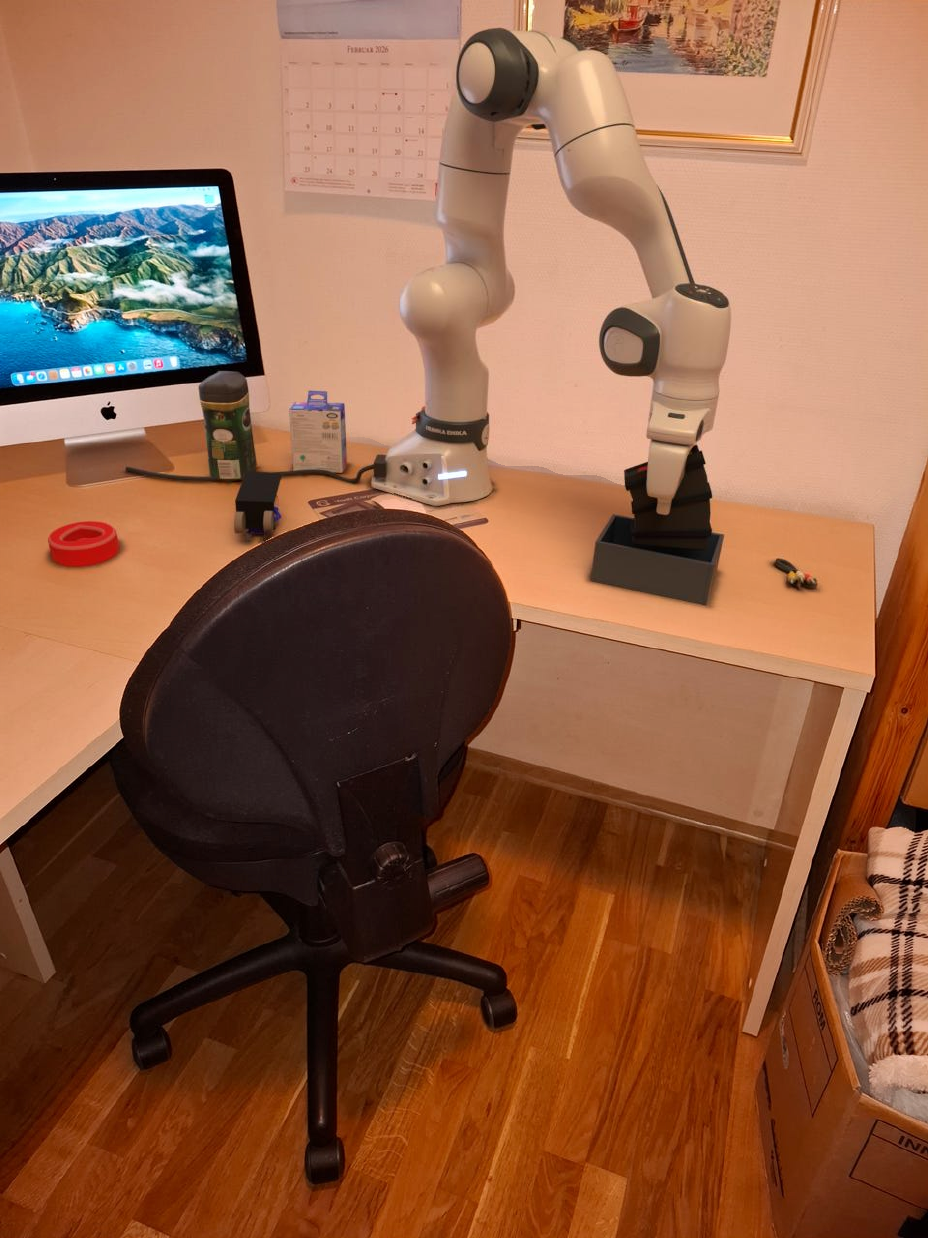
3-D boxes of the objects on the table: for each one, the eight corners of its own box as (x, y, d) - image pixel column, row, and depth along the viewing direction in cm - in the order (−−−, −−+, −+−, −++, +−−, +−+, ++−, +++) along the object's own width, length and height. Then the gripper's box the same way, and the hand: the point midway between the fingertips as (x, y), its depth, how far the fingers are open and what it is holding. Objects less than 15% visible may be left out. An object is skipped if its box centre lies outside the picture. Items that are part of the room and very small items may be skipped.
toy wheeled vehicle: (278, 554, 135) (286, 506, 146) (273, 513, 130) (282, 467, 142) (235, 554, 134) (246, 506, 146) (229, 513, 129) (241, 467, 141)
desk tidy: (590, 580, 127) (595, 541, 124) (607, 550, 136) (612, 513, 133) (706, 605, 122) (714, 565, 119) (716, 572, 131) (724, 534, 128)
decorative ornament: (98, 533, 136) (94, 515, 134) (131, 551, 131) (128, 533, 129) (39, 552, 129) (35, 533, 128) (72, 572, 124) (67, 553, 123)
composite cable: (771, 562, 135) (774, 548, 133) (801, 564, 135) (805, 550, 133) (788, 592, 126) (792, 578, 125) (820, 594, 126) (825, 579, 125)
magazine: (731, 544, 123) (702, 451, 117) (642, 571, 127) (610, 483, 121) (727, 533, 126) (699, 442, 120) (641, 560, 130) (610, 473, 124)
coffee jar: (221, 463, 164) (209, 366, 154) (261, 465, 163) (252, 368, 154) (204, 481, 155) (190, 380, 146) (246, 484, 155) (235, 383, 145)
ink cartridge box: (348, 463, 166) (345, 390, 158) (344, 473, 161) (341, 398, 154) (297, 461, 166) (292, 388, 158) (292, 472, 161) (286, 396, 154)
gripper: (672, 390, 125) (658, 478, 133) (644, 429, 109) (630, 527, 116) (715, 396, 124) (699, 484, 131) (694, 437, 107) (676, 536, 114)
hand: (666, 505), depth 123 cm, fingers closed on magazine, 4 cm apart
